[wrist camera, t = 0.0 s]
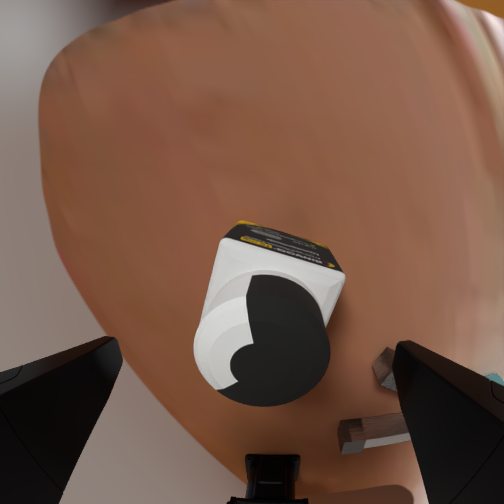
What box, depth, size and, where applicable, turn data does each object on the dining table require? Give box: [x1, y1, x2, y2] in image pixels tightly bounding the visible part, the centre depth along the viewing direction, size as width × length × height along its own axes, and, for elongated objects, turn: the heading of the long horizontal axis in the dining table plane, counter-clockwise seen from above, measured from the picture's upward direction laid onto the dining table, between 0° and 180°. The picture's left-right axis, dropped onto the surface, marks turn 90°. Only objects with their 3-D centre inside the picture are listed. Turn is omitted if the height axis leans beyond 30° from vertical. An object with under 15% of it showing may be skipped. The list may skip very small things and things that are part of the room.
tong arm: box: [372, 347, 397, 392], centre depth 22 cm, size 12×2×3 cm, turn 63°
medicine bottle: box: [194, 220, 345, 407], centre depth 17 cm, size 7×7×12 cm
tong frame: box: [338, 413, 411, 455], centre depth 24 cm, size 16×4×4 cm, turn 93°
